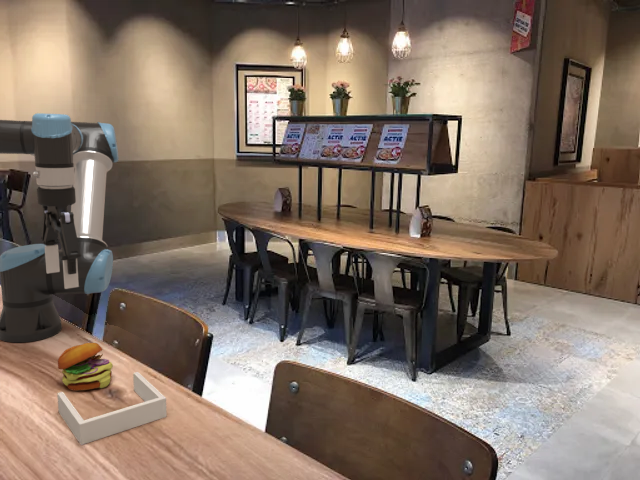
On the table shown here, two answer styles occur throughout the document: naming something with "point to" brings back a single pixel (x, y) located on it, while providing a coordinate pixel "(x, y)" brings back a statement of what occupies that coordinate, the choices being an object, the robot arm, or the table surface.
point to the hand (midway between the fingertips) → (62, 279)
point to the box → (115, 414)
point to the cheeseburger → (84, 367)
